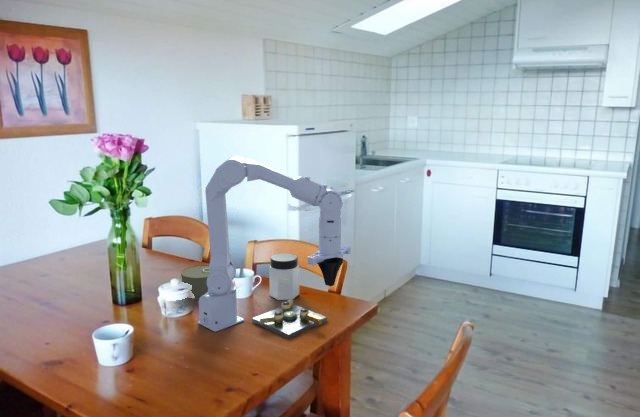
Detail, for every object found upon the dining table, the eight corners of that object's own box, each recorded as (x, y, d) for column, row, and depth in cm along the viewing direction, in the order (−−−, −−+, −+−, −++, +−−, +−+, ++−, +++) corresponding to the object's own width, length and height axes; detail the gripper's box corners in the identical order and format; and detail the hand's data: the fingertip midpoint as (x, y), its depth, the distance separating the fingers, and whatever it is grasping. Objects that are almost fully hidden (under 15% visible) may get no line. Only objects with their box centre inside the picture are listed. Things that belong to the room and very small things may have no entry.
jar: (270, 301, 150) (269, 262, 147) (269, 291, 158) (268, 253, 155) (300, 299, 151) (300, 260, 148) (298, 289, 159) (297, 252, 156)
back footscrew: (289, 312, 138) (289, 304, 137) (280, 312, 138) (280, 303, 138) (295, 304, 143) (295, 296, 143) (287, 303, 144) (287, 295, 143)
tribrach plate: (288, 338, 126) (288, 328, 125) (252, 322, 135) (252, 312, 135) (326, 321, 136) (326, 311, 135) (290, 307, 145) (290, 298, 145)
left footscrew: (282, 318, 134) (281, 310, 133) (284, 322, 132) (283, 313, 131) (259, 321, 132) (259, 312, 132) (261, 325, 130) (260, 316, 130)
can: (175, 291, 158) (174, 270, 156) (211, 282, 165) (210, 262, 164) (192, 303, 148) (191, 280, 147) (229, 293, 156) (228, 272, 154)
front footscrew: (297, 318, 134) (297, 309, 134) (304, 315, 136) (304, 307, 136) (317, 326, 130) (317, 317, 129) (323, 323, 131) (323, 314, 131)
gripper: (322, 243, 124) (321, 296, 127) (359, 232, 134) (358, 281, 137) (301, 238, 129) (302, 289, 131) (339, 228, 139) (339, 275, 142)
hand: (329, 284), depth 135 cm, fingers closed
